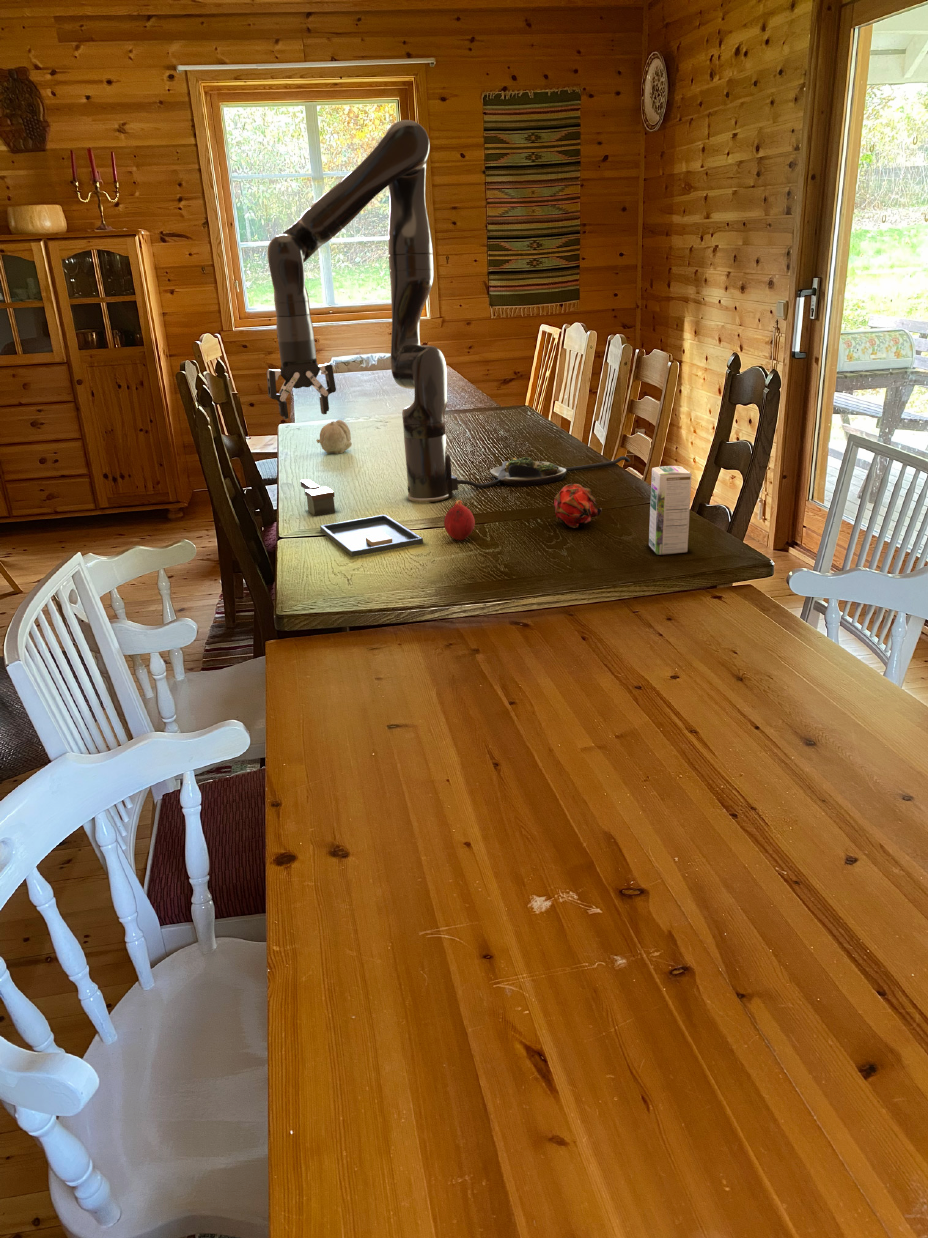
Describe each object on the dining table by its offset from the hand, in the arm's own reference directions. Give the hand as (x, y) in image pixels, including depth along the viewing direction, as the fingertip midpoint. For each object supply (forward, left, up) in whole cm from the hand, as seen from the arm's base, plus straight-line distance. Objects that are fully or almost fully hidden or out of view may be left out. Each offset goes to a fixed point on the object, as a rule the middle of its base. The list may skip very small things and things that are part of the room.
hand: (305, 416), depth 197 cm
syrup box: (-45, +68, -20) cm, 84 cm away
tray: (-2, +30, -20) cm, 37 cm away
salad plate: (-51, +6, -20) cm, 55 cm away
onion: (-16, +42, -20) cm, 50 cm away
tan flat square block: (-2, +35, -20) cm, 40 cm away
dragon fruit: (-40, +46, -20) cm, 64 cm away
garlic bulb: (-22, -54, -20) cm, 62 cm away
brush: (0, +1, -20) cm, 20 cm away
